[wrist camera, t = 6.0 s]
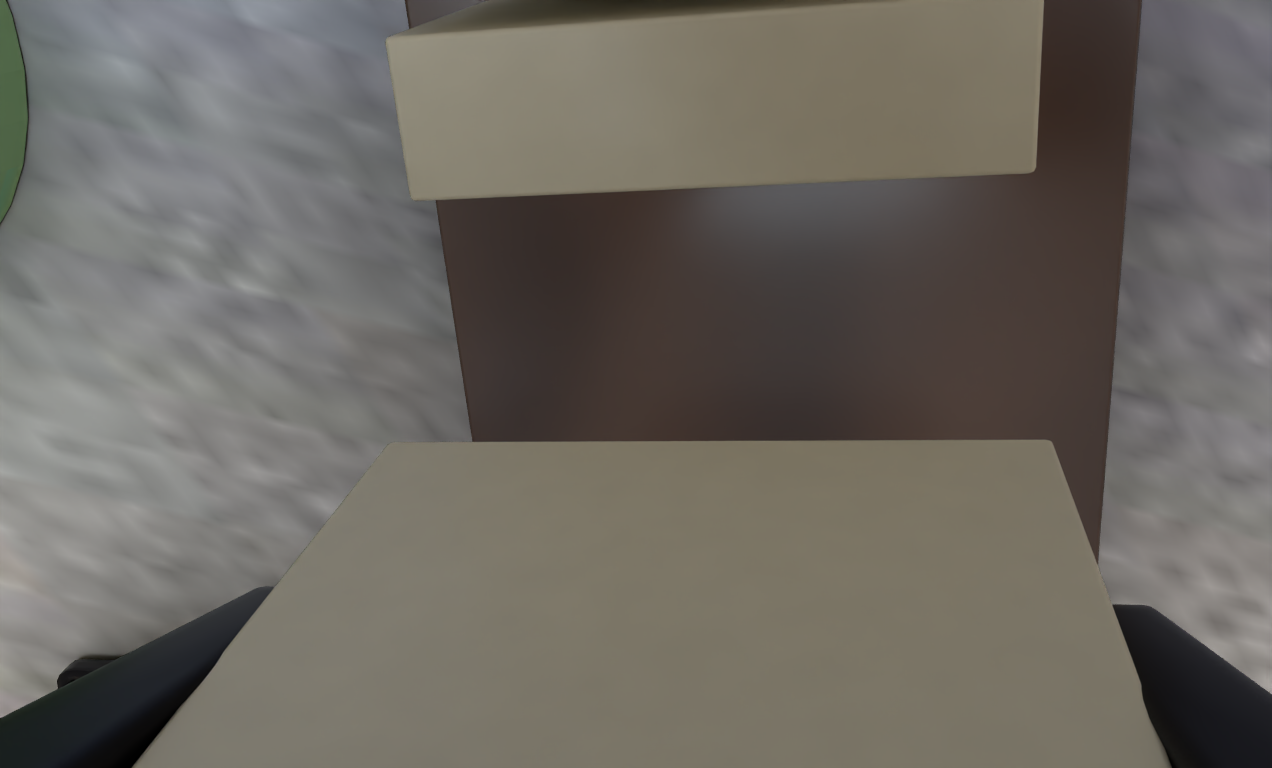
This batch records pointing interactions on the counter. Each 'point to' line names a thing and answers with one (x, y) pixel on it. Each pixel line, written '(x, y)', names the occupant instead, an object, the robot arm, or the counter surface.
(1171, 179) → the counter surface
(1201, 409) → the counter surface
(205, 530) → the counter surface
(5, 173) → the mug
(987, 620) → the cream book
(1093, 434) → the book rack
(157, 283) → the counter surface
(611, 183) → the cream book
